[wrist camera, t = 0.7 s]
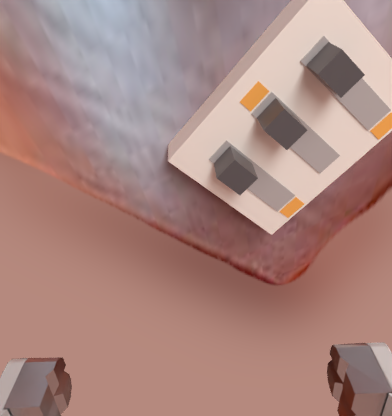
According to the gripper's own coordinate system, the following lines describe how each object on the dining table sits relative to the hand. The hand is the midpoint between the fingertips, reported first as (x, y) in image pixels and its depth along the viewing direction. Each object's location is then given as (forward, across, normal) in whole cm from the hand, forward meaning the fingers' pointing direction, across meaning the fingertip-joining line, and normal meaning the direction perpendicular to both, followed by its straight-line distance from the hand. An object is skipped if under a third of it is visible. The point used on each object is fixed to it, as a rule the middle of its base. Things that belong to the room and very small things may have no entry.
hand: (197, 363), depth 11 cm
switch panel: (+31, -9, +2) cm, 33 cm away
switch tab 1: (+27, -4, +5) cm, 27 cm away
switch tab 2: (+26, -8, +1) cm, 27 cm away
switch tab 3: (+26, -12, -4) cm, 29 cm away
